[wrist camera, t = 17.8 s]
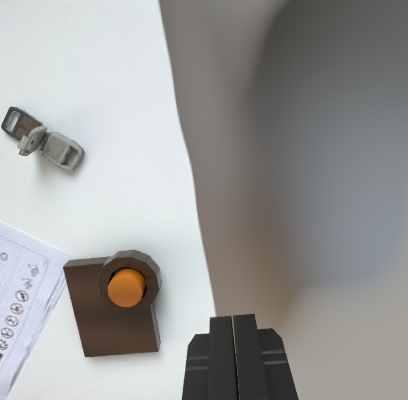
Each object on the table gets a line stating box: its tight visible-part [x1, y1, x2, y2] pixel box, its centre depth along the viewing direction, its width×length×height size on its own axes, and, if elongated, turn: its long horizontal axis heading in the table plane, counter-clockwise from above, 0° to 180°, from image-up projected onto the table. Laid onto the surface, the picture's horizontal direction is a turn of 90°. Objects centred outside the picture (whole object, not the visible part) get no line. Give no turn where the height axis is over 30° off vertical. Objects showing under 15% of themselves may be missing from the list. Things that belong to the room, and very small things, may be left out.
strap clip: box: [1, 107, 84, 171], centre depth 35 cm, size 8×3×4 cm, turn 58°
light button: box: [108, 268, 145, 307], centre depth 37 cm, size 4×4×2 cm
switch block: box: [63, 250, 162, 357], centre depth 40 cm, size 13×11×4 cm
